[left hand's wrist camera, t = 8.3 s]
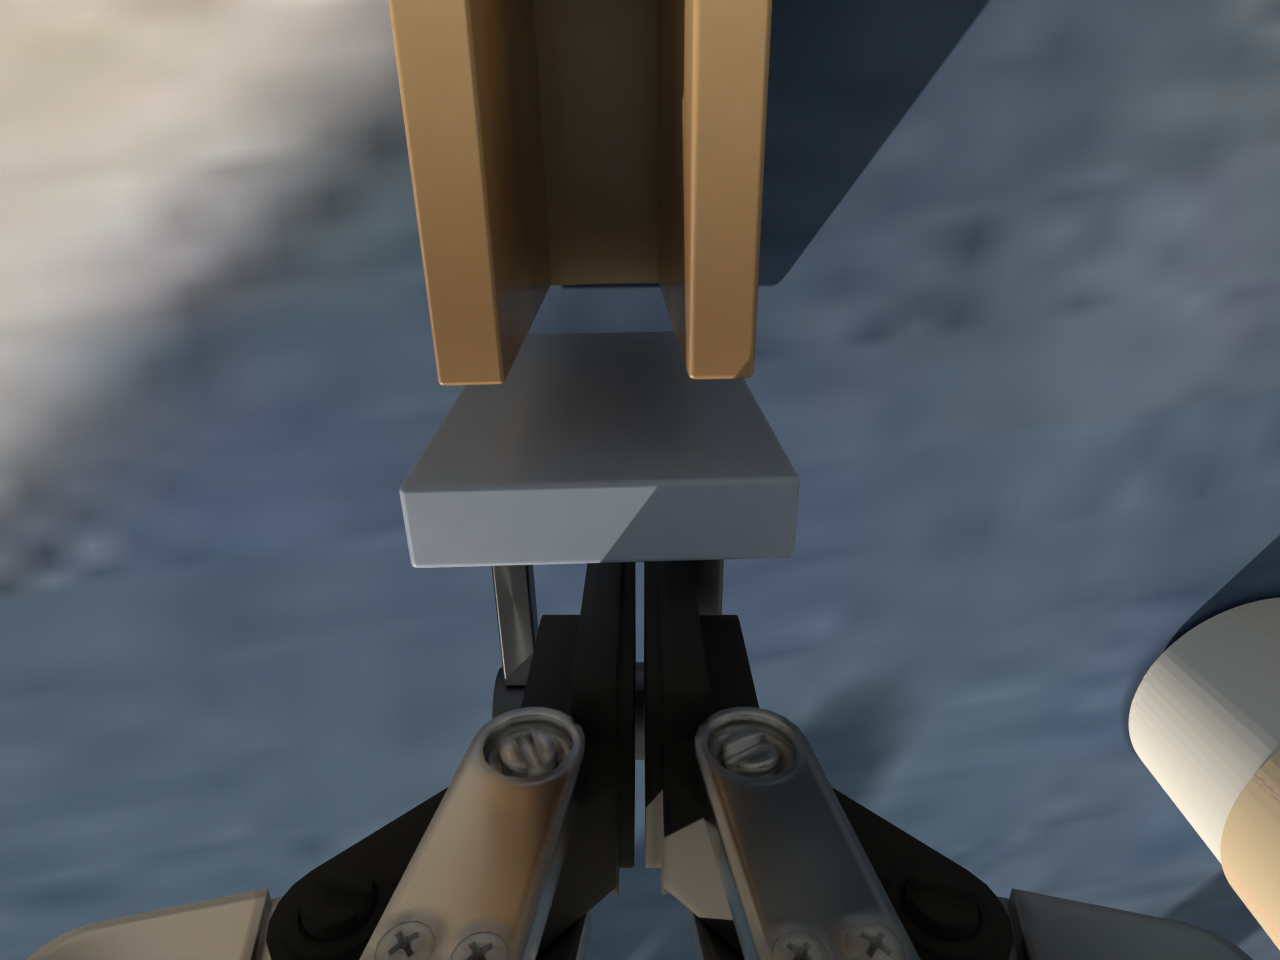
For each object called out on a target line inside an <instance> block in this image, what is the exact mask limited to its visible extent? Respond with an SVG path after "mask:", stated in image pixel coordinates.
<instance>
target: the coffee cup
mask: <svg viewBox="0 0 1280 960" xmlns="http://www.w3.org/2000/svg"><path fill="white" fill-rule="evenodd" d="M1129 733H1130V738H1131V742H1132V745H1133V747H1134V749H1135V751H1136V753H1137V754H1138V756H1139V757H1140V759H1141V760H1142V761H1143V763H1144V764H1145V765H1146V767H1147V768H1148V769H1149V770H1150V772H1151V773H1152V774H1153V776H1154V777H1155V778H1156V780H1157V781H1158V782H1159V783H1160V785H1161V786H1162V787H1163V789H1164V790H1165V791H1166V793H1167V794H1168V795H1169V796H1170V798H1171V799H1172V800H1173V802H1174V803H1175V804H1176V806H1177V807H1178V808H1179V809H1180V811H1181V812H1182V813H1183V815H1184V816H1185V817H1186V819H1187V820H1188V821H1189V822H1190V824H1191V825H1192V826H1193V828H1194V829H1195V830H1196V832H1197V833H1198V834H1199V835H1200V837H1201V838H1202V839H1203V841H1204V842H1205V843H1206V844H1207V846H1208V847H1209V848H1210V850H1211V851H1212V852H1213V854H1214V855H1215V856H1216V857H1217V859H1218V860H1219V861H1220V863H1221V864H1222V867H1223V871H1224V873H1225V876H1226V878H1227V880H1228V882H1229V884H1230V885H1231V887H1232V888H1233V889H1234V891H1235V892H1236V893H1237V895H1238V896H1239V897H1240V898H1241V900H1242V901H1243V902H1244V904H1245V905H1246V906H1247V908H1248V909H1249V910H1250V912H1251V913H1252V914H1253V916H1254V917H1255V918H1256V920H1257V921H1258V922H1259V923H1260V925H1261V926H1262V927H1263V929H1264V930H1265V931H1266V933H1267V934H1268V935H1269V937H1270V938H1271V939H1272V941H1273V942H1274V943H1275V945H1276V946H1277V947H1278V949H1279V950H1280V598H1271V599H1265V600H1260V601H1255V602H1251V603H1247V604H1244V605H1241V606H1238V607H1235V608H1232V609H1230V610H1227V611H1225V612H1222V613H1220V614H1218V615H1216V616H1214V617H1212V618H1210V619H1208V620H1206V621H1204V622H1203V623H1201V624H1199V625H1198V626H1196V627H1194V628H1193V629H1191V630H1190V631H1188V632H1187V633H1186V634H1184V635H1183V636H1182V637H1180V638H1179V639H1178V640H1177V641H1175V642H1174V643H1173V644H1172V645H1171V646H1170V647H1169V648H1168V649H1167V650H1165V651H1164V652H1163V653H1162V655H1161V656H1160V657H1159V658H1158V659H1157V660H1156V661H1155V662H1154V664H1153V665H1152V666H1151V667H1150V669H1149V670H1148V672H1147V673H1146V675H1145V676H1144V678H1143V679H1142V681H1141V683H1140V685H1139V686H1138V689H1137V691H1136V693H1135V696H1134V698H1133V701H1132V705H1131V708H1130V714H1129Z"/></svg>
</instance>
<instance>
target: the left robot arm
mask: <svg viewBox="0 0 1280 960" xmlns="http://www.w3.org/2000/svg"><path fill="white" fill-rule="evenodd" d="M635 710H636V635H635V562H610V563H588V564H587V571H586V579H585V586H584V593H583V600H582V608H581V615H543V616H542V618H541V621H540V625H539V630H538V634H537V638H536V643H535V647H534V652H533V656H532V661H531V665H530V669H529V674H528V678H527V683H526V687H525V691H524V696H523V700H522V705H521V708H520V709H515V710H510V711H508V712H506V713H503V714H501V715H499V716H497V717H495V718H493V719H492V720H491V721H489V722H488V723H487V724H485V725H484V726H483V727H482V728H481V729H480V730H479V732H478V733H477V734H476V736H475V737H474V738H473V740H472V742H471V744H470V746H469V748H468V750H467V752H466V754H465V756H464V758H463V760H462V762H461V764H460V766H459V768H458V769H457V771H456V773H455V775H454V777H453V779H452V781H451V783H450V785H449V787H448V788H446V789H444V790H443V791H441V792H440V793H438V794H436V795H435V796H433V797H431V798H430V799H428V800H426V801H425V802H423V803H422V804H420V805H418V806H417V807H415V808H413V809H412V810H410V811H408V812H407V813H405V814H404V815H402V816H400V817H399V818H397V819H395V820H394V821H392V822H390V823H389V824H387V825H386V826H384V827H382V828H381V829H379V830H377V831H376V832H374V833H373V834H371V835H369V836H368V837H366V838H364V839H363V840H361V841H359V842H358V843H356V844H355V845H353V846H351V847H350V848H348V849H346V850H345V851H343V852H341V853H340V854H338V855H337V856H335V857H333V858H332V859H330V860H328V861H327V862H325V863H324V864H322V865H320V866H319V867H317V868H315V869H314V870H312V871H311V872H309V873H308V874H307V875H306V876H304V877H303V878H302V879H300V880H299V881H298V882H296V883H295V884H294V885H293V886H292V887H291V888H290V889H289V890H288V892H287V893H286V894H285V895H284V896H283V897H278V898H273V899H271V898H270V895H269V891H268V889H263V890H258V891H253V892H248V893H243V894H237V895H232V896H227V897H222V898H217V899H212V900H207V901H202V902H197V903H192V904H187V905H181V906H176V907H171V908H166V909H161V910H156V911H151V912H146V913H141V914H136V915H131V916H126V917H120V918H115V919H110V920H105V921H100V922H95V923H92V924H89V925H86V926H83V927H80V928H77V929H74V930H71V931H68V932H66V933H65V934H63V935H61V936H60V937H58V938H56V939H54V940H53V941H51V942H49V943H47V944H46V945H44V946H42V947H41V948H40V949H39V950H38V951H36V952H35V953H34V954H33V955H32V956H31V957H29V958H28V959H27V960H584V958H585V953H586V949H587V944H588V940H589V936H590V931H591V908H593V907H594V906H595V905H596V904H597V903H598V902H599V901H601V900H602V899H603V898H604V897H605V896H606V895H608V894H618V890H619V868H634V827H635ZM644 734H645V846H646V868H661V894H672V895H673V896H674V897H676V898H677V899H678V900H679V901H680V902H681V903H683V904H684V905H685V906H686V907H687V908H688V909H689V931H690V936H691V940H692V944H693V949H694V953H695V958H696V960H1253V959H1252V958H1250V957H1249V956H1248V955H1247V954H1246V953H1245V952H1244V951H1242V950H1241V949H1240V948H1239V947H1238V946H1236V945H1234V944H1233V943H1231V942H1229V941H1227V940H1226V939H1224V938H1222V937H1220V936H1219V935H1217V934H1215V933H1214V932H1212V931H1209V930H1206V929H1203V928H1200V927H1197V926H1194V925H1191V924H1188V923H1185V922H1180V921H1175V920H1170V919H1165V918H1160V917H1154V916H1149V915H1144V914H1139V913H1134V912H1129V911H1124V910H1119V909H1114V908H1109V907H1104V906H1098V905H1093V904H1088V903H1083V902H1078V901H1073V900H1068V899H1063V898H1058V897H1053V896H1048V895H1042V894H1037V893H1032V892H1027V891H1022V890H1017V889H1012V891H1011V894H1010V898H1009V899H1007V898H1002V897H997V896H996V895H995V894H994V893H993V892H992V891H991V889H990V888H989V887H988V886H987V885H986V884H985V883H984V882H982V881H981V880H980V879H978V878H977V877H976V876H974V875H973V874H972V873H970V872H969V871H968V870H966V869H965V868H963V867H961V866H960V865H958V864H956V863H955V862H953V861H951V860H950V859H948V858H947V857H945V856H943V855H942V854H940V853H938V852H937V851H935V850H934V849H932V848H930V847H929V846H927V845H925V844H924V843H922V842H920V841H919V840H917V839H916V838H914V837H912V836H911V835H909V834H907V833H906V832H904V831H902V830H901V829H899V828H898V827H896V826H894V825H893V824H891V823H889V822H888V821H886V820H884V819H883V818H881V817H880V816H878V815H876V814H875V813H873V812H871V811H870V810H868V809H866V808H865V807H863V806H862V805H860V804H858V803H857V802H855V801H853V800H852V799H850V798H848V797H847V796H845V795H844V794H842V793H840V792H839V791H837V790H835V789H834V788H832V787H831V785H830V783H829V781H828V779H827V777H826V775H825V773H824V771H823V769H822V768H821V766H820V764H819V762H818V760H817V758H816V756H815V754H814V752H813V750H812V748H811V746H810V744H809V742H808V740H807V738H806V737H805V736H804V734H803V733H802V732H801V730H800V729H799V728H798V727H797V726H796V725H795V724H793V723H792V722H791V721H789V720H788V719H787V718H785V717H783V716H781V715H779V714H777V713H774V712H772V711H770V710H765V709H760V708H759V705H758V701H757V697H756V692H755V688H754V683H753V679H752V675H751V670H750V666H749V661H748V657H747V653H746V648H745V644H744V639H743V635H742V631H741V626H740V622H739V619H738V616H737V615H699V609H698V602H697V595H696V587H695V580H694V573H693V566H692V560H682V561H646V562H644Z"/></svg>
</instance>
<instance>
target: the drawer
mask: <svg viewBox="0 0 1280 960" xmlns="http://www.w3.org/2000/svg"><path fill="white" fill-rule="evenodd" d="M388 1H389V9H390V16H391V24H392V32H393V39H394V47H395V55H396V62H397V70H398V78H399V85H400V93H401V100H402V108H403V116H404V123H405V131H406V139H407V146H408V154H409V162H410V169H411V177H412V185H413V192H414V200H415V207H416V215H417V223H418V230H419V238H420V246H421V253H422V261H423V269H424V276H425V284H426V291H427V299H428V307H429V314H430V322H431V330H432V337H433V345H434V353H435V360H436V368H437V376H438V381H439V383H440V384H441V385H465V386H464V387H463V389H462V391H461V392H460V394H459V395H458V397H457V399H456V400H455V402H454V403H453V405H452V406H451V408H450V410H449V411H448V413H447V414H446V416H445V417H444V419H443V421H442V422H441V424H440V425H439V427H438V429H437V430H436V432H435V433H434V435H433V436H432V438H431V440H430V441H429V443H428V444H427V446H426V447H425V449H424V451H423V452H422V454H421V455H420V457H419V458H418V460H417V462H416V463H415V465H414V466H413V468H412V470H411V471H410V473H409V474H408V476H407V477H406V479H405V481H404V482H403V484H402V485H401V487H400V491H399V492H400V498H401V504H402V510H403V516H404V522H405V528H406V535H407V541H408V547H409V553H410V559H411V563H412V565H413V567H416V568H430V567H466V566H492V575H493V583H494V592H495V601H496V610H497V619H498V628H499V637H500V646H501V655H502V664H503V667H501V668H500V669H499V671H498V674H497V677H496V682H495V687H494V696H493V710H492V719H493V718H495V717H497V716H499V715H501V714H503V713H506V712H508V711H510V710H515V709H520V708H521V705H522V700H523V696H524V691H525V687H526V683H527V678H528V674H529V669H530V665H531V661H532V656H533V652H534V647H535V643H536V638H537V634H538V620H537V608H536V596H535V584H534V573H533V565H538V564H574V563H610V562H646V561H682V560H692V566H693V573H694V580H695V587H696V595H697V602H698V609H699V615H722V589H723V562H724V559H754V558H788V557H791V556H792V555H793V552H794V546H795V533H796V521H797V509H798V497H799V484H800V480H799V478H798V475H797V474H796V472H795V470H794V468H793V466H792V465H791V463H790V461H789V459H788V457H787V455H786V454H785V452H784V450H783V448H782V446H781V445H780V443H779V441H778V439H777V437H776V436H775V434H774V432H773V430H772V428H771V427H770V425H769V423H768V421H767V419H766V418H765V416H764V414H763V412H762V410H761V409H760V407H759V405H758V403H757V401H756V400H755V398H754V396H753V394H752V392H751V391H750V389H749V387H748V385H747V383H746V382H745V380H744V378H749V377H752V375H753V373H754V358H755V338H756V318H757V299H758V279H759V259H760V239H761V219H762V199H763V179H764V159H765V140H766V120H767V100H768V80H769V60H770V40H771V20H772V0H388ZM642 283H659V284H660V288H661V291H662V294H663V297H664V300H665V303H666V306H667V310H668V313H669V316H670V319H671V322H672V325H673V328H674V331H675V332H634V333H587V334H539V335H527V333H528V331H529V329H530V327H531V325H532V323H533V320H534V318H535V316H536V314H537V312H538V310H539V308H540V306H541V304H542V302H543V299H544V297H545V295H546V293H547V291H548V289H549V287H550V285H591V284H642ZM635 760H645V734H644V662H636V710H635Z"/></svg>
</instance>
